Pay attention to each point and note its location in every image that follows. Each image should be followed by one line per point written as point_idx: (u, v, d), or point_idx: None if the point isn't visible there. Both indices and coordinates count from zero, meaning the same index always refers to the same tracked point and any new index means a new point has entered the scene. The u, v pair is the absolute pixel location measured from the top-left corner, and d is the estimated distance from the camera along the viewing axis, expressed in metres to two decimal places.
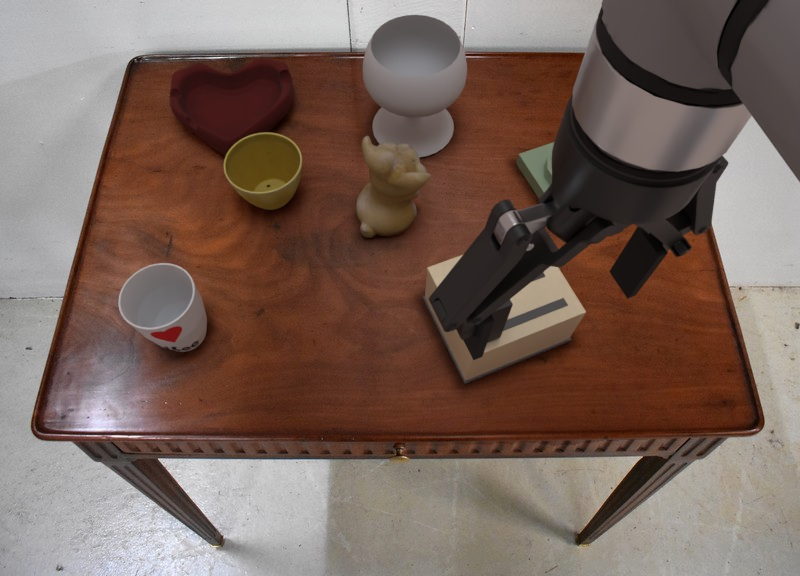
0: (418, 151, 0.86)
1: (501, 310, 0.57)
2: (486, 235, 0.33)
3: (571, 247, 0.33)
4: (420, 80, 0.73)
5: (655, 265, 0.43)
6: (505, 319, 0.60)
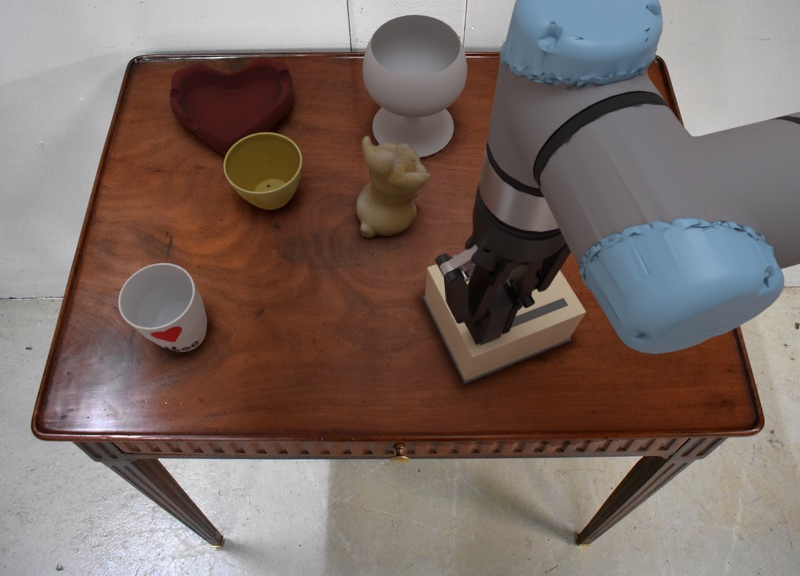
0: (418, 151, 0.86)
1: (501, 311, 0.57)
2: None
3: (497, 276, 0.48)
4: (420, 80, 0.73)
5: (514, 312, 0.58)
6: (505, 319, 0.60)
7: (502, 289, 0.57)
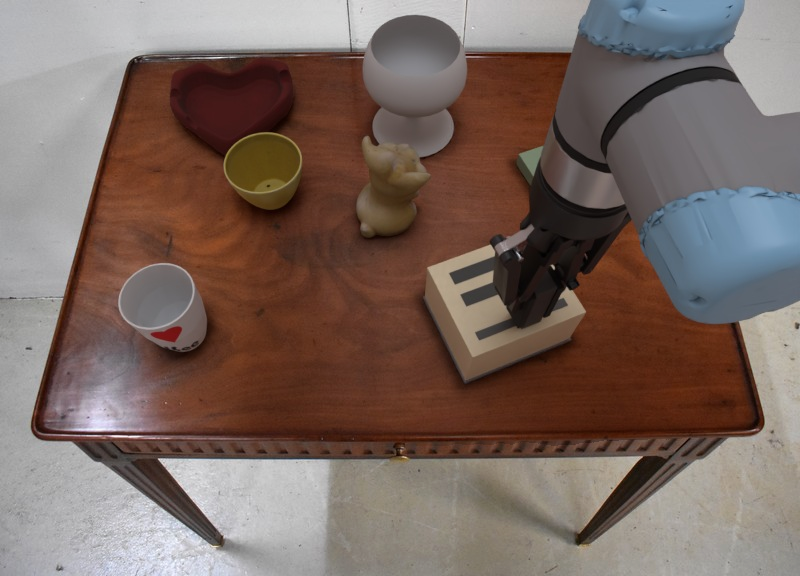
0: (418, 151, 0.86)
1: (546, 293, 0.58)
2: (497, 253, 0.50)
3: (550, 256, 0.49)
4: (420, 80, 0.73)
5: (557, 295, 0.59)
6: (548, 303, 0.60)
7: (546, 272, 0.58)
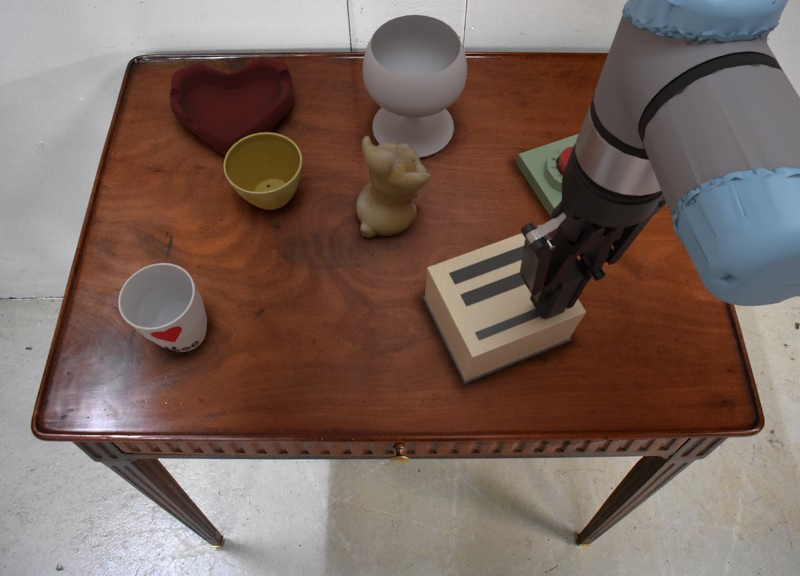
0: (418, 151, 0.86)
1: (572, 283, 0.58)
2: (527, 242, 0.51)
3: (580, 245, 0.50)
4: (420, 80, 0.73)
5: (583, 285, 0.60)
6: (573, 293, 0.61)
7: None
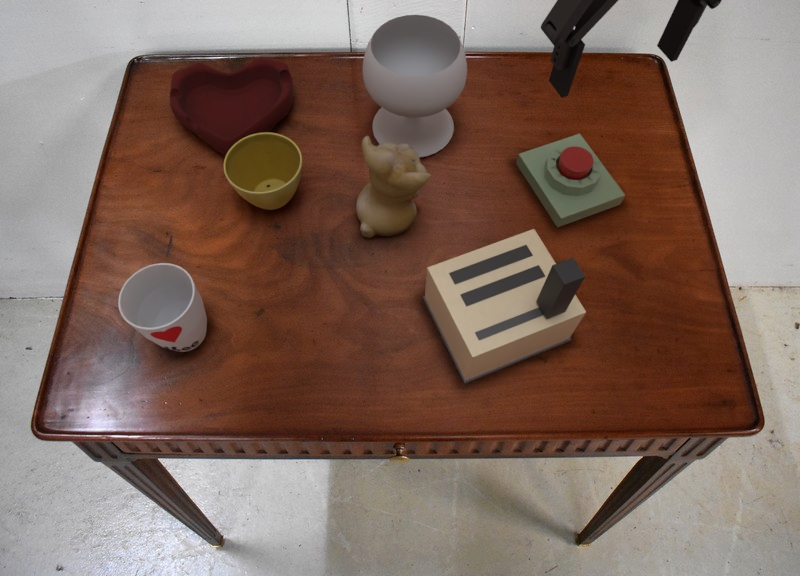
0: (418, 151, 0.86)
1: (574, 282, 0.58)
2: None
3: None
4: (420, 80, 0.73)
5: (694, 21, 0.60)
6: (575, 292, 0.61)
7: (574, 262, 0.59)
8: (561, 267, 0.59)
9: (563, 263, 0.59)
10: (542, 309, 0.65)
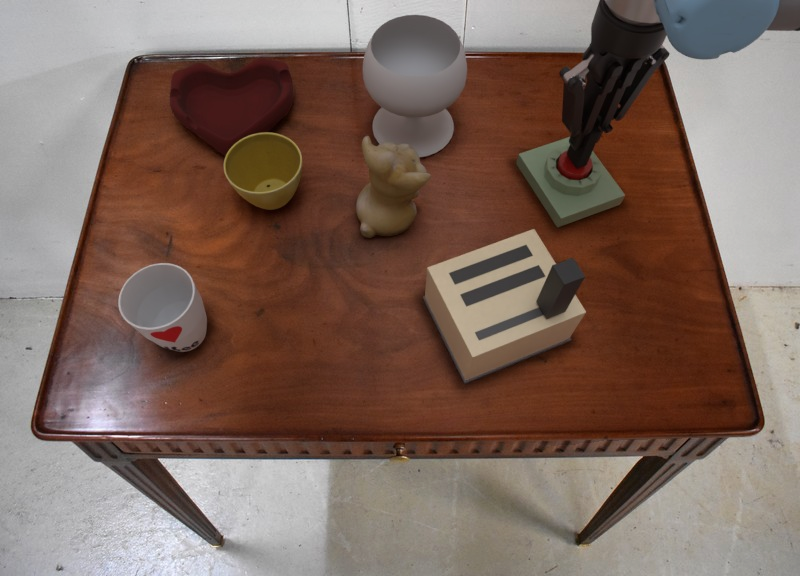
0: (418, 151, 0.86)
1: (574, 282, 0.58)
2: (565, 85, 0.66)
3: (605, 83, 0.65)
4: (420, 80, 0.73)
5: (594, 140, 0.75)
6: (575, 292, 0.61)
7: (574, 262, 0.59)
8: (561, 267, 0.59)
9: (563, 263, 0.59)
10: (542, 309, 0.65)
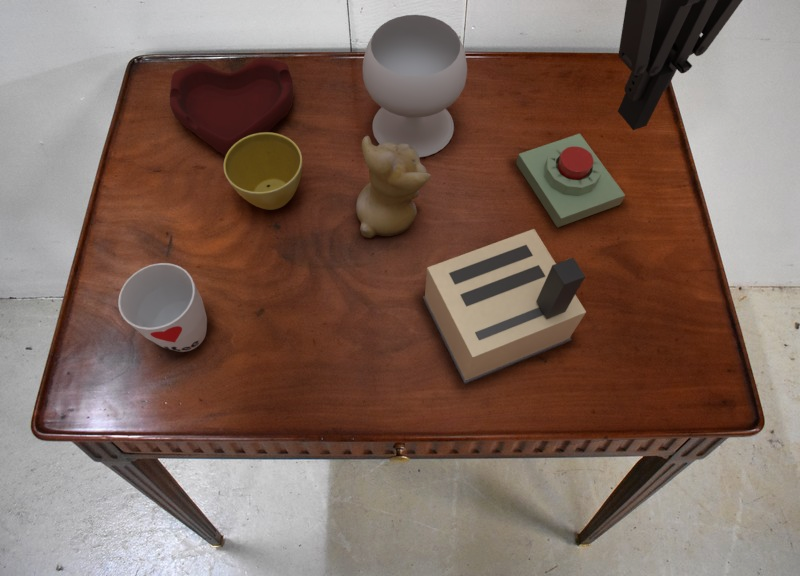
0: (418, 151, 0.86)
1: (574, 282, 0.58)
2: None
3: None
4: (420, 80, 0.73)
5: (663, 85, 0.52)
6: (575, 292, 0.61)
7: (574, 262, 0.59)
8: (561, 267, 0.59)
9: (563, 263, 0.59)
10: (542, 309, 0.65)
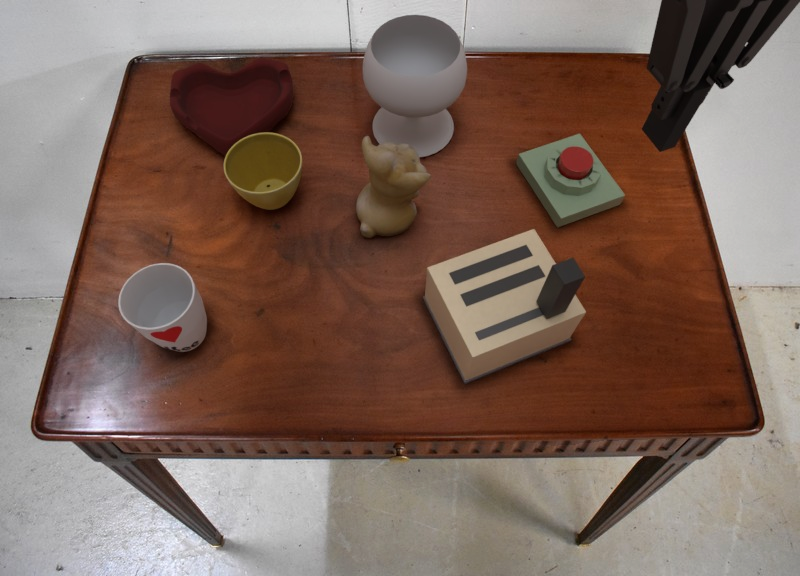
0: (418, 151, 0.86)
1: (574, 282, 0.58)
2: None
3: None
4: (420, 80, 0.73)
5: (698, 102, 0.44)
6: (575, 292, 0.61)
7: (574, 262, 0.59)
8: (561, 267, 0.59)
9: (563, 263, 0.59)
10: (542, 309, 0.65)
